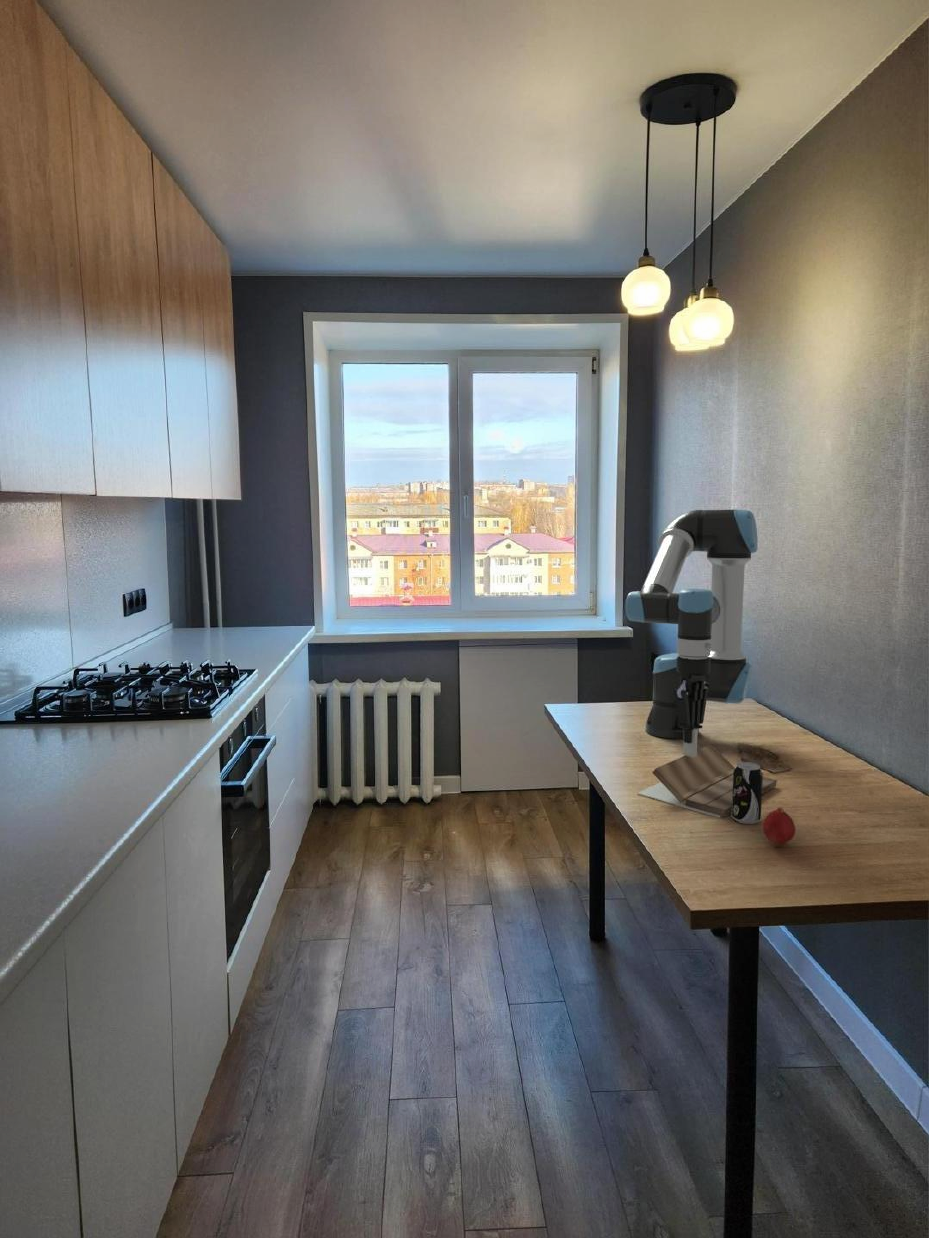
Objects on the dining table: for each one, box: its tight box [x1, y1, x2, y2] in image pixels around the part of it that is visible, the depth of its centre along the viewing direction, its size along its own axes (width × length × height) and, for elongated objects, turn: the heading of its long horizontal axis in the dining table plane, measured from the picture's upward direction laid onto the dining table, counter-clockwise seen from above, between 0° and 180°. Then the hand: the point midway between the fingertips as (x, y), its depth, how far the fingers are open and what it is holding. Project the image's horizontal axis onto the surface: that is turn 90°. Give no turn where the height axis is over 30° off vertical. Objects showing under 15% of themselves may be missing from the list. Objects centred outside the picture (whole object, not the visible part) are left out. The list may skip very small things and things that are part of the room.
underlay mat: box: [636, 781, 723, 819], centre depth 179 cm, size 27×20×1 cm
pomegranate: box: [761, 806, 796, 848], centre depth 148 cm, size 6×6×8 cm
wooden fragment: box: [738, 742, 794, 775], centre depth 203 cm, size 26×11×1 cm, turn 177°
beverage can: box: [731, 761, 764, 825], centre depth 160 cm, size 6×6×12 cm
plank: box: [651, 744, 736, 803], centre depth 180 cm, size 26×9×2 cm
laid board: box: [686, 775, 778, 818], centre depth 174 cm, size 26×9×2 cm, turn 135°
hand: (689, 755), depth 181 cm, fingers closed
